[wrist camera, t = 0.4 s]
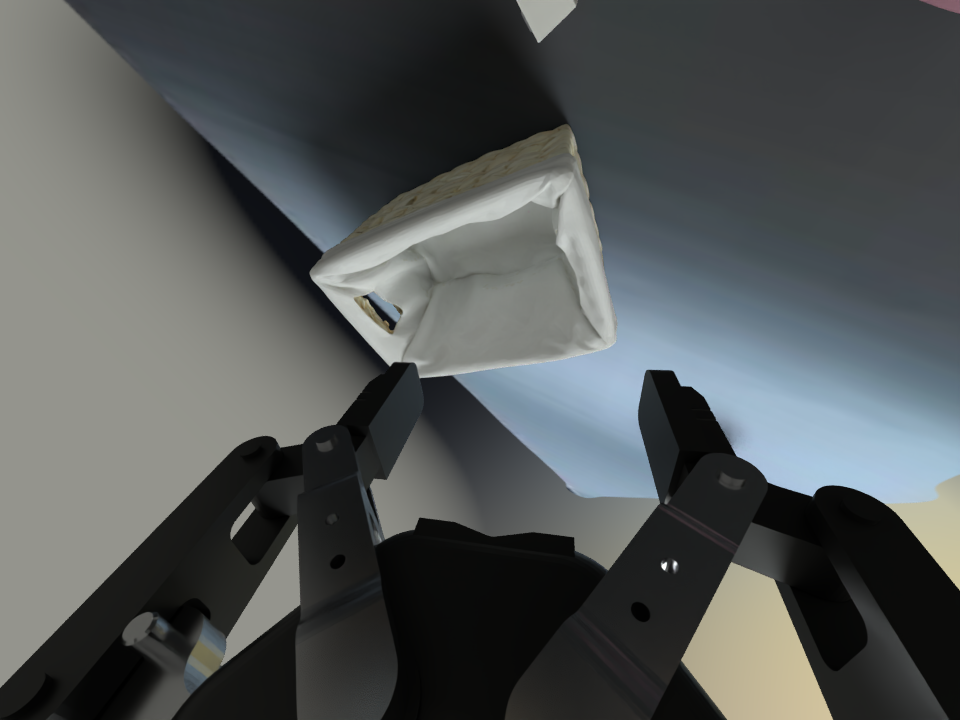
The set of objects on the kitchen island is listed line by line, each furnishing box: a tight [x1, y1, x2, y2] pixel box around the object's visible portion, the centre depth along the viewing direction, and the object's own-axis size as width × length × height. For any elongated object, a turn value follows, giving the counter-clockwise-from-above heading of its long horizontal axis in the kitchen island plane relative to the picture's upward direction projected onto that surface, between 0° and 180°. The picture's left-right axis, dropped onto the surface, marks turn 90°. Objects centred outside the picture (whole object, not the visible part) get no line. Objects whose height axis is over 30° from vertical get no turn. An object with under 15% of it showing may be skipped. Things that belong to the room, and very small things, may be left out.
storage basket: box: [310, 124, 617, 378], centre depth 34 cm, size 24×16×15 cm
